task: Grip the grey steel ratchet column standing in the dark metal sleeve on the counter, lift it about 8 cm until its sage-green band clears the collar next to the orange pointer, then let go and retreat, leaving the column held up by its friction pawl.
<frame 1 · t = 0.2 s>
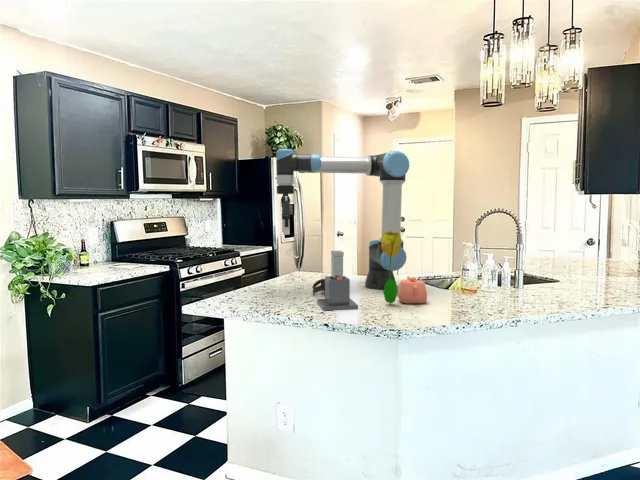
hand: (285, 233, 212), 28 cm above the worktop, fingers open, 13 cm apart
column: (337, 276, 195), point 12 cm above the worktop, slide at 0.0 cm
stand base: (337, 305, 196), on the worktop
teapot: (411, 302, 204), on the worktop
flower: (390, 305, 198), on the worktop
pottery mug: (324, 294, 218), on the worktop
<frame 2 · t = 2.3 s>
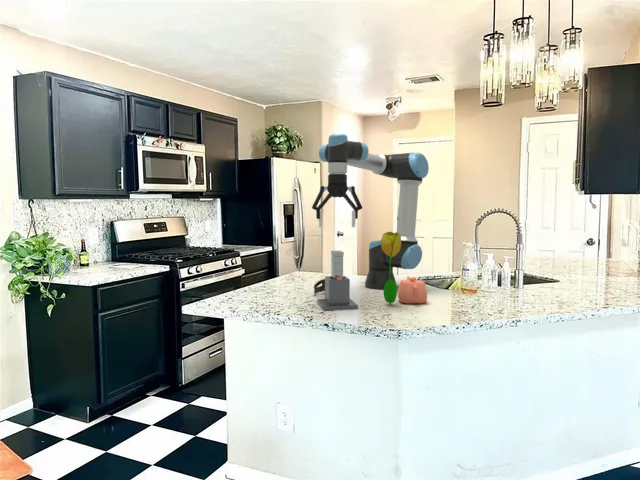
hand: (337, 227, 193), 32 cm above the worktop, fingers open, 13 cm apart
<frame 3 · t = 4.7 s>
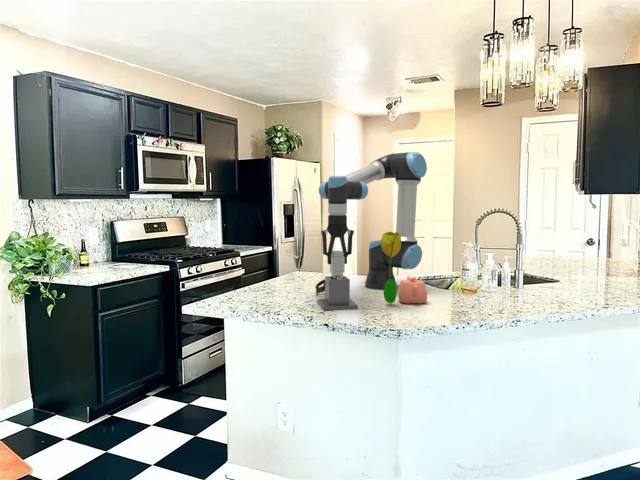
hand: (337, 272, 195), 14 cm above the worktop, fingers closed on column, 4 cm apart
column: (337, 276, 195), point 12 cm above the worktop, slide at 0.0 cm, touching gripper
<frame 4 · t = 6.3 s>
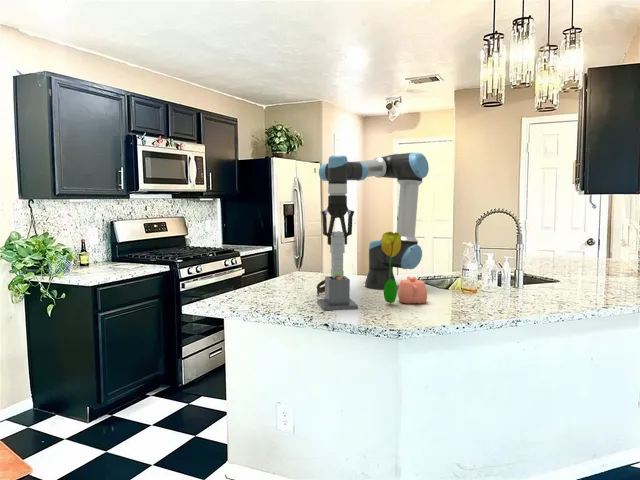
hand: (337, 252, 194), 22 cm above the worktop, fingers closed on column, 4 cm apart
column: (337, 257, 194), point 20 cm above the worktop, slide at 7.9 cm, touching gripper
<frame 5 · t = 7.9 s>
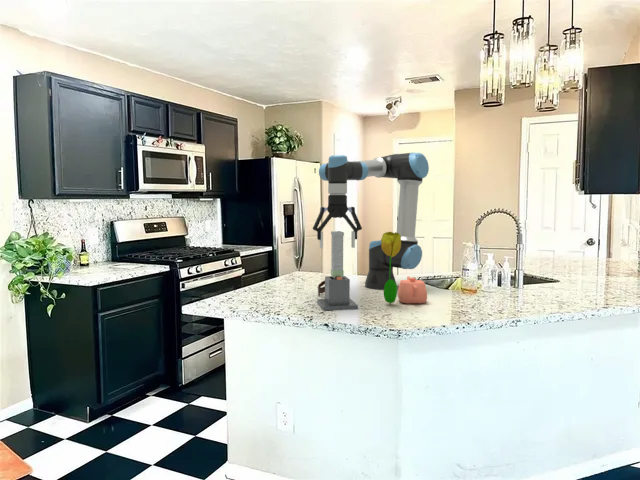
hand: (337, 247, 194), 24 cm above the worktop, fingers open, 12 cm apart
column: (337, 257, 194), point 20 cm above the worktop, slide at 8.0 cm
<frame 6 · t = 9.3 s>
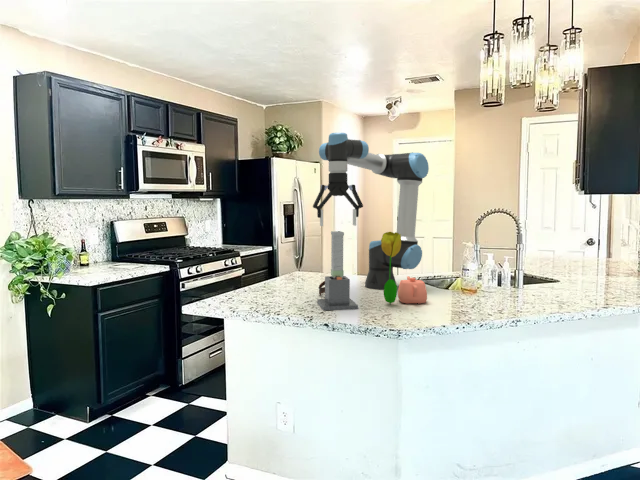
hand: (338, 225, 193), 33 cm above the worktop, fingers open, 13 cm apart
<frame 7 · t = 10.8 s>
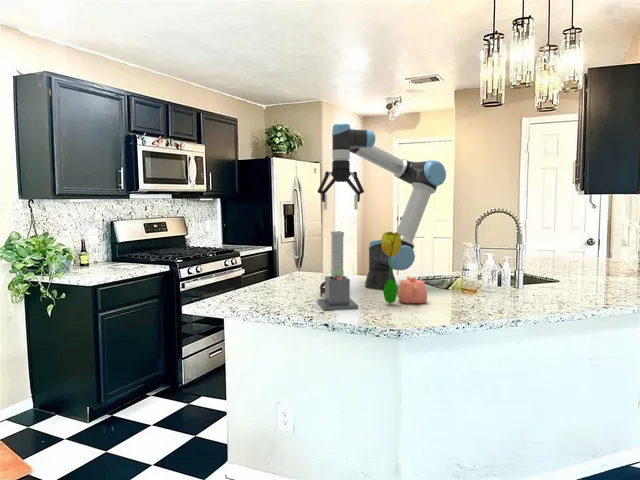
hand: (340, 209, 209), 39 cm above the worktop, fingers open, 13 cm apart
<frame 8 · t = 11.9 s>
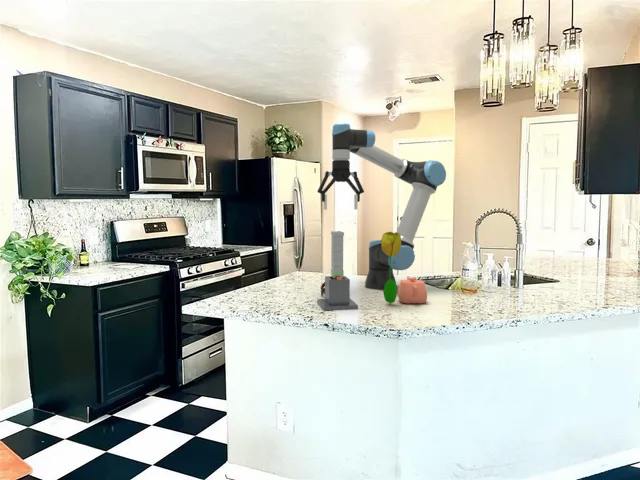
hand: (340, 209, 209), 39 cm above the worktop, fingers open, 13 cm apart
at the end: column slide at 8.0 cm; the gripper is holding nothing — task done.
